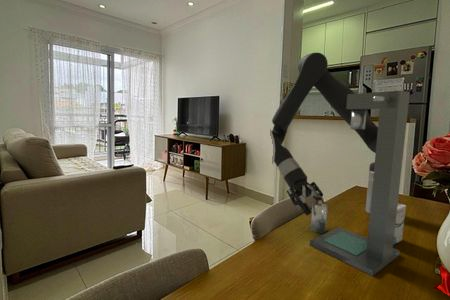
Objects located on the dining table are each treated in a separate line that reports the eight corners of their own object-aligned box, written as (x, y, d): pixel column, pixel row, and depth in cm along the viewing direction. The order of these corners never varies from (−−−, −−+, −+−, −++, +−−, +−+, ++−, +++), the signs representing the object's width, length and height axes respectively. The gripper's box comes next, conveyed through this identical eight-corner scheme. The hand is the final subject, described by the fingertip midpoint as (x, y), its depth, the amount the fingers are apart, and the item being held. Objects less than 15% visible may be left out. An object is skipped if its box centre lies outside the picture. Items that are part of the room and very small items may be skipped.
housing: (316, 225, 89) (318, 197, 87) (328, 230, 85) (330, 201, 83) (307, 229, 86) (309, 200, 84) (320, 234, 82) (322, 204, 80)
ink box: (390, 247, 74) (395, 200, 72) (372, 240, 78) (377, 196, 76) (402, 240, 79) (407, 195, 77) (385, 233, 83) (390, 191, 81)
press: (338, 231, 84) (348, 97, 78) (398, 255, 70) (417, 93, 64) (306, 246, 74) (315, 94, 68) (369, 278, 60) (387, 88, 54)
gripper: (285, 169, 86) (311, 211, 78) (310, 165, 94) (336, 202, 87) (273, 180, 91) (297, 221, 83) (298, 175, 99) (321, 212, 92)
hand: (317, 211), depth 85 cm, fingers open, 8 cm apart
